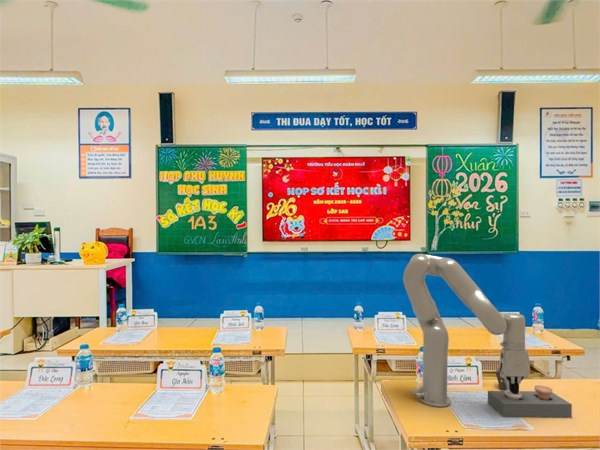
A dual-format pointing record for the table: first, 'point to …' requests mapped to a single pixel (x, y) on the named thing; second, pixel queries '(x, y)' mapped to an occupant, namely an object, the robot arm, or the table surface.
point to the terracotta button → (543, 392)
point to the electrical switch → (504, 383)
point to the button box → (530, 405)
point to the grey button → (513, 395)
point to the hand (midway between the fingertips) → (514, 392)
